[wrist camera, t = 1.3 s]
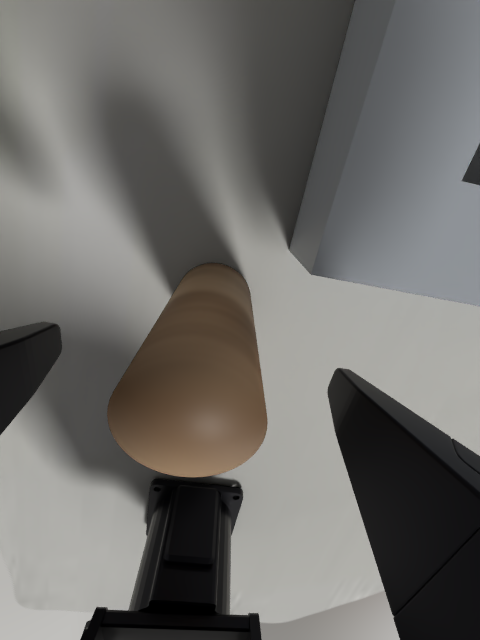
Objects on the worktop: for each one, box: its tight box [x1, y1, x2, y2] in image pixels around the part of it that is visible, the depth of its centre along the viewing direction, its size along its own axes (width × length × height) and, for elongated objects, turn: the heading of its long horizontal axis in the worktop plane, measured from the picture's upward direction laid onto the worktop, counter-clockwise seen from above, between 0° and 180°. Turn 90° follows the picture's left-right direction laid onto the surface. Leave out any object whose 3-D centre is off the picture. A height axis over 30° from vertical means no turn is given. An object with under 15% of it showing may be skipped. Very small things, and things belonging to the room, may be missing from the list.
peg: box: [107, 263, 267, 477], centre depth 10 cm, size 4×4×8 cm
